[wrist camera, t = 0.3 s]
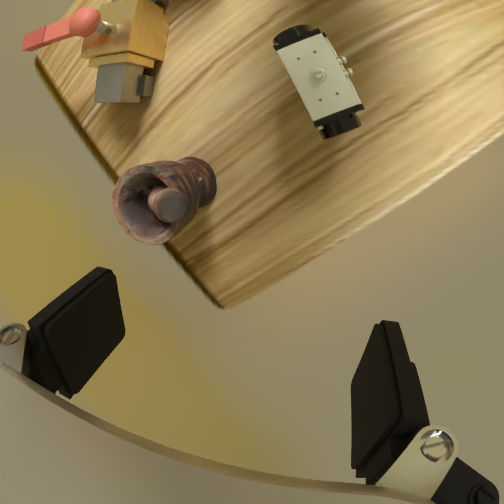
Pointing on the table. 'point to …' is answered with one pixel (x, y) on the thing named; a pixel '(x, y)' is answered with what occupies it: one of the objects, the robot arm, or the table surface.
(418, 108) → the table surface
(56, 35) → the lever
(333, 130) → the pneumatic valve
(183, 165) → the mortar and pestle
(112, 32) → the valve pipe
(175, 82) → the table surface
